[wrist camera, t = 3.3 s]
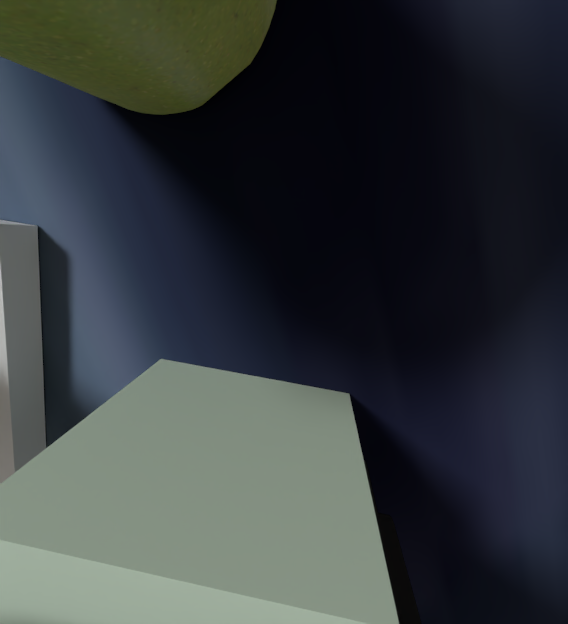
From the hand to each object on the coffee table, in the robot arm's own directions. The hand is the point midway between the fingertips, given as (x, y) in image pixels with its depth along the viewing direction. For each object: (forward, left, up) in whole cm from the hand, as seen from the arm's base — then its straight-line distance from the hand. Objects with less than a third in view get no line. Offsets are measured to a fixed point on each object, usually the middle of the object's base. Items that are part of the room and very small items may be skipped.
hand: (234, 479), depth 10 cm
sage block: (0, 0, -1) cm, 1 cm away
